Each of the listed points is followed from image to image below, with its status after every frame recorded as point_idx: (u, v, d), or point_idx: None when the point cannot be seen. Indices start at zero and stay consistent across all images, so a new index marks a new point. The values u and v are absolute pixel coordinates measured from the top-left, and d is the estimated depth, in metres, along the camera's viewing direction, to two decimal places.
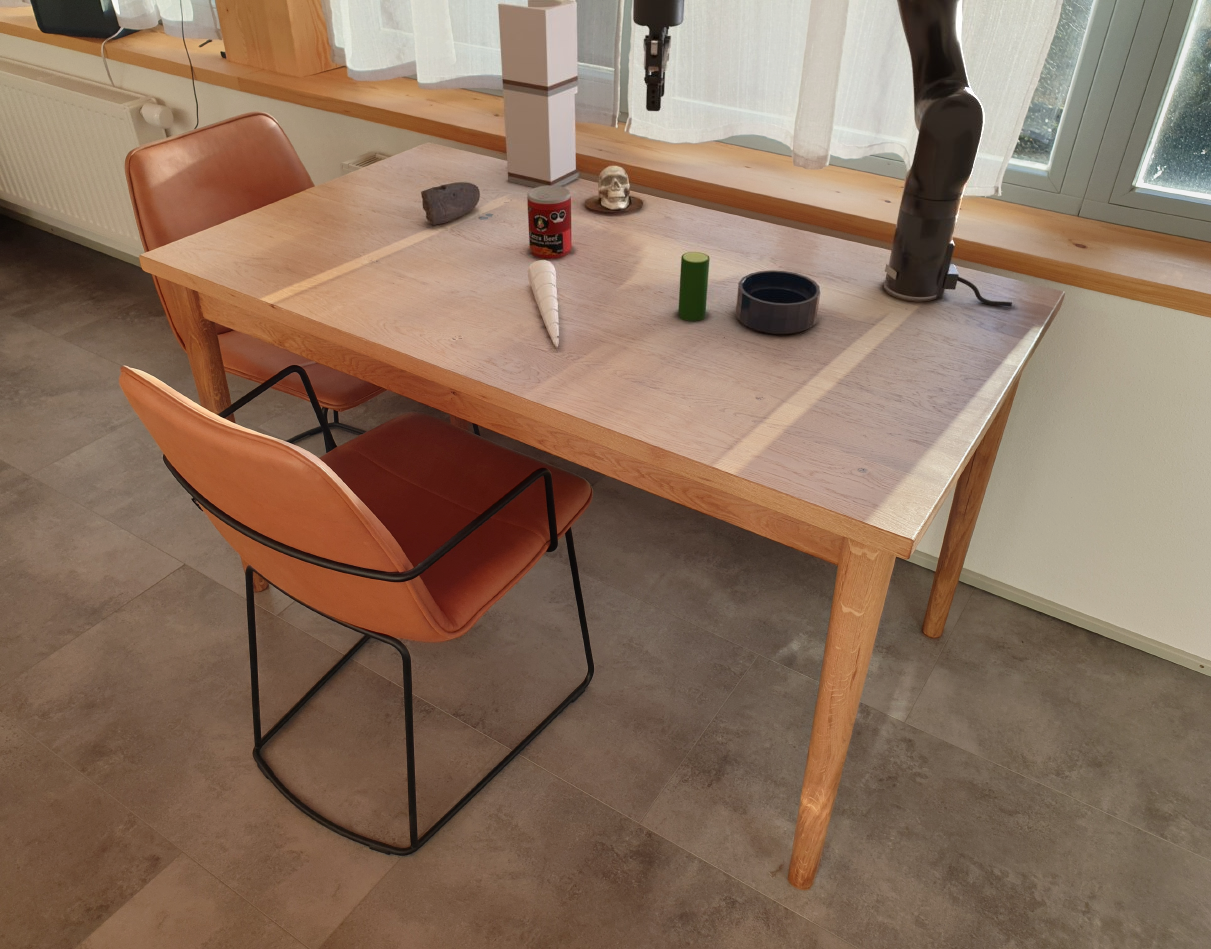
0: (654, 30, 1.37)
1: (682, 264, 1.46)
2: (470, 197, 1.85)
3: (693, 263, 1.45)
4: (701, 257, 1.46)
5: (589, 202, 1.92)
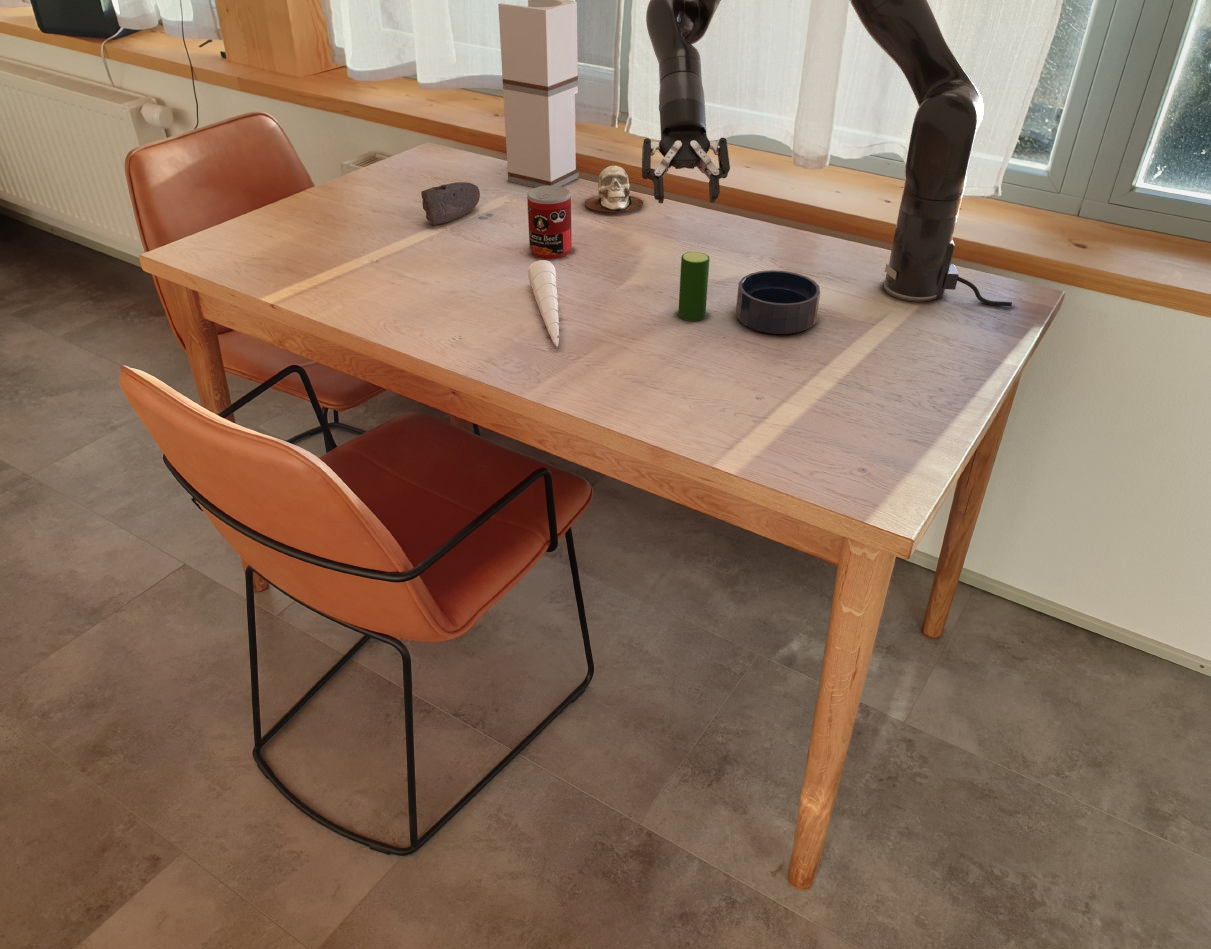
0: (661, 137, 1.54)
1: (682, 264, 1.46)
2: (470, 197, 1.85)
3: (693, 263, 1.45)
4: (701, 257, 1.46)
5: (589, 202, 1.92)
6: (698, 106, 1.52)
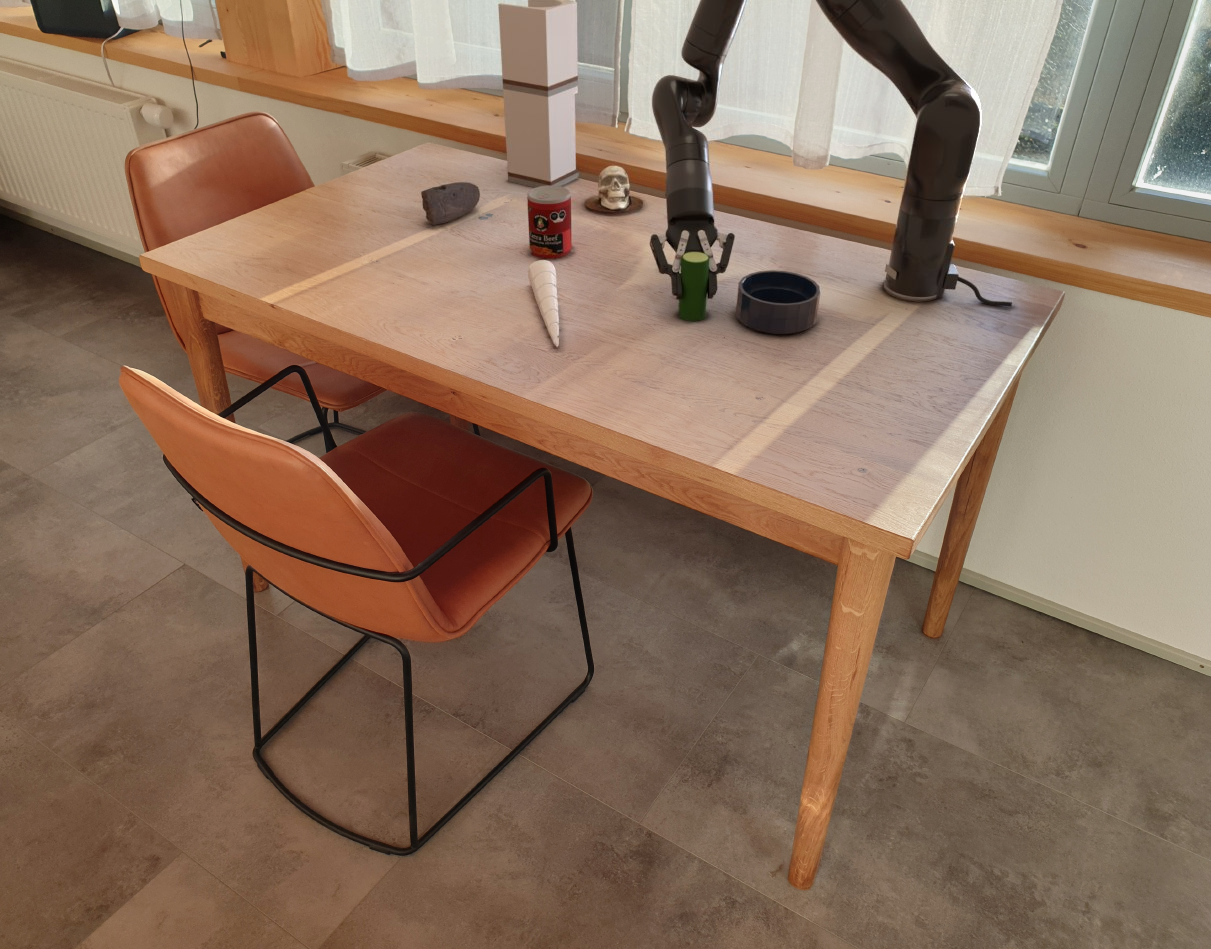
0: None
1: (682, 264, 1.46)
2: (470, 197, 1.85)
3: (693, 263, 1.45)
4: (701, 257, 1.46)
5: (589, 202, 1.92)
6: (706, 195, 1.48)
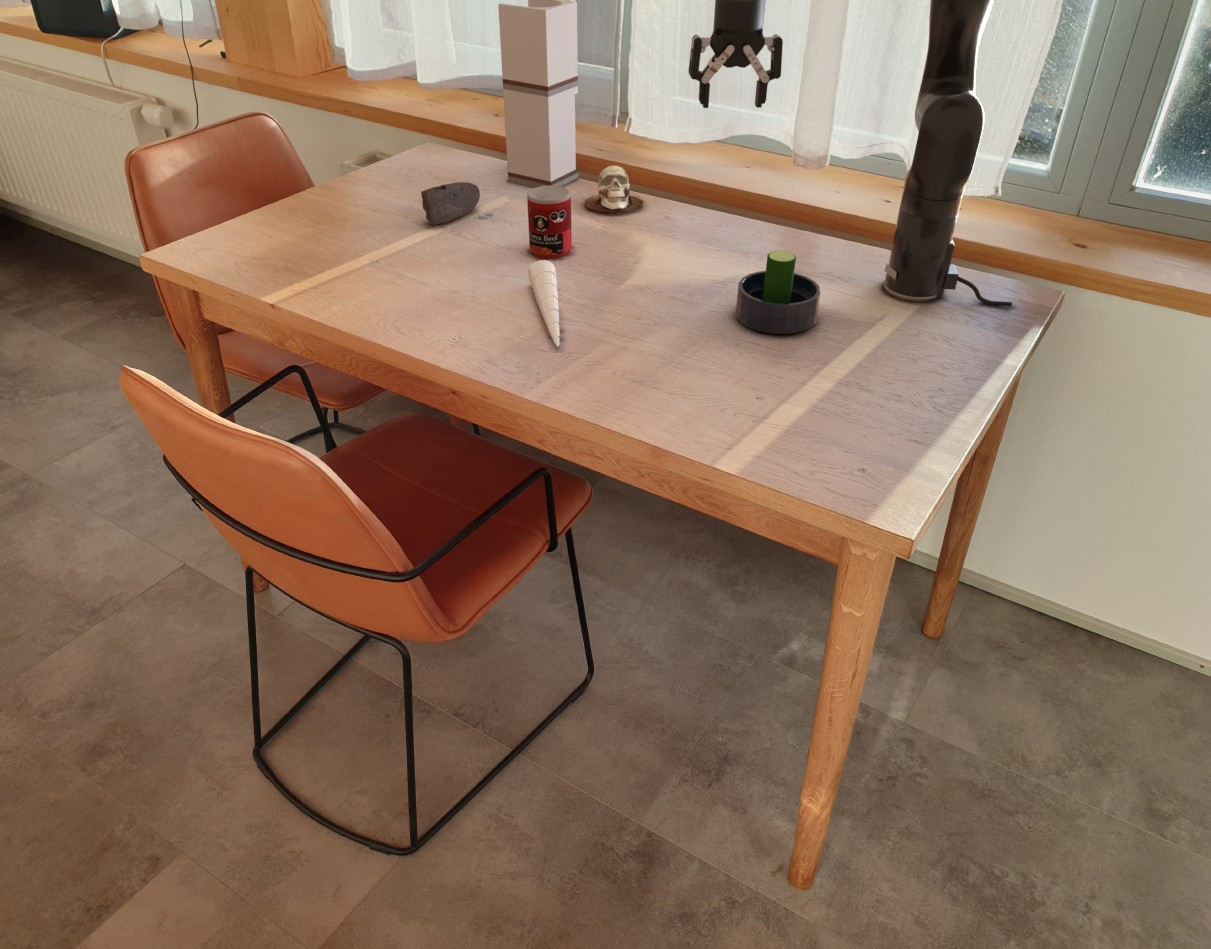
0: (713, 30, 1.43)
1: (768, 263, 1.45)
2: (470, 197, 1.85)
3: (781, 263, 1.43)
4: (787, 256, 1.45)
5: (589, 202, 1.92)
6: (758, 8, 1.38)
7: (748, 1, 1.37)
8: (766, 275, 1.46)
